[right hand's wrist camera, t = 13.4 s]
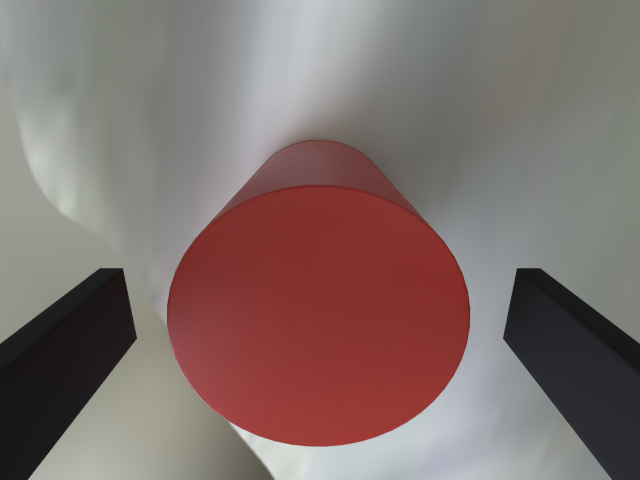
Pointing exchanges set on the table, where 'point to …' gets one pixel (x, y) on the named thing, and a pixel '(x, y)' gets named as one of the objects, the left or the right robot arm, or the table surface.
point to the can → (318, 303)
